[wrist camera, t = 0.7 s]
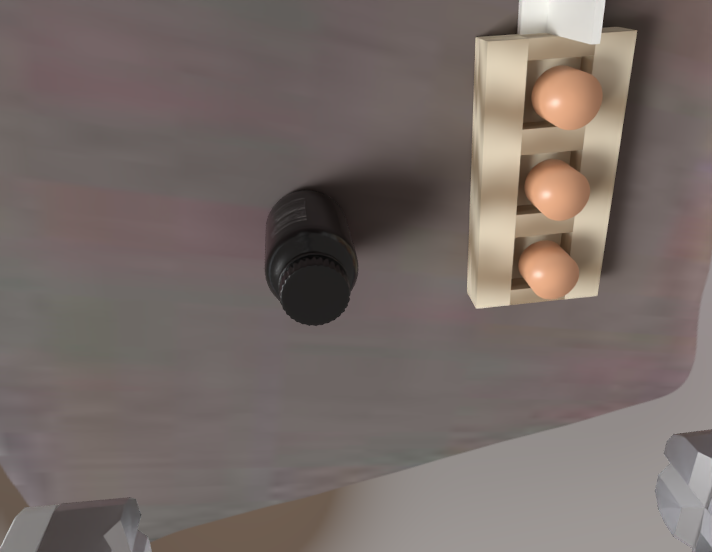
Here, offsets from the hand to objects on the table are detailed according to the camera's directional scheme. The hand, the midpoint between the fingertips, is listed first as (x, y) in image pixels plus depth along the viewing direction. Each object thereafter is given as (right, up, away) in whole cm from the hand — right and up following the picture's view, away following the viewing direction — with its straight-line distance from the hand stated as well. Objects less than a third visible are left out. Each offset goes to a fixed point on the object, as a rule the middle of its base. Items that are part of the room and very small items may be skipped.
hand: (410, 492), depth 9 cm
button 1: (+15, +5, +42) cm, 45 cm away
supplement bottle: (-5, +8, +42) cm, 42 cm away
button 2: (+14, +17, +35) cm, 42 cm away
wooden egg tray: (+14, +12, +41) cm, 45 cm away
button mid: (+15, +11, +39) cm, 43 cm away
